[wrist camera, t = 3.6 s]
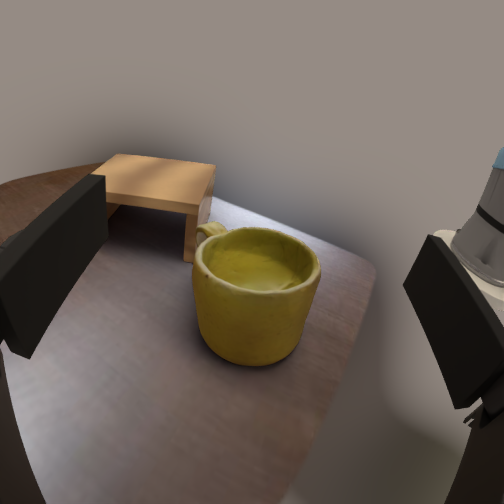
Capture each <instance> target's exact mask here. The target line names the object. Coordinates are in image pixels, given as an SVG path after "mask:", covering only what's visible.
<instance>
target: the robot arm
mask: <svg viewBox="0 0 504 504" xmlns="http://www.w3.org/2000/svg"><path fill="white" fill-rule="evenodd" d="M492 167H493V170H492V172H491V175H490V178H489V180H488V182H487V185H486V187H485V190H484V192H483V195H482V197H481V200H480V201H479V204H478V206H477V208H476V211H475V213H474V214H473V215H472V217H471V218H470V219H469V220H468V221H467V222H466V224H465V225H464V226H463V227H462V229H458V230H457V231H456V233H455V235H454V237H453V239H452V241H451V243H450V247H451V249H450V248H449V247H448V246H447V244H446V243H445V242H444V241H443V239H442V238H441V237H437V236H433V235H428V236H427V238H426V240H425V242H424V244H423V246H422V248H421V250H420V252H419V254H418V256H417V258H416V260H415V262H414V264H413V266H412V268H411V270H410V272H409V274H408V276H407V278H406V280H405V282H404V283H403V287H404V289H405V290H406V293H407V295H408V297H409V299H410V301H411V303H412V305H413V307H414V309H415V312H416V314H417V316H418V318H419V320H420V323H421V325H422V327H423V329H424V332H425V334H426V336H427V338H428V341H429V343H430V345H431V348H432V350H433V353H434V355H435V358H436V360H437V362H438V365H439V367H440V370H441V372H442V375H443V378H444V380H445V383H446V386H447V389H448V391H449V394H450V397H451V399H452V402H453V405H454V408H455V409H462V408H468V407H470V406H471V405H472V404H473V403H474V402H475V401H477V400H478V399H479V398H480V397H481V399H482V402H483V403H482V404H481V405H480V406H479V407H478V408H477V409H476V410H474V411H473V412H472V413H471V414H470V415H469V416H467V417H466V418H465V420H464V422H463V423H466V422H468V421H469V420H470V419H471V418H472V419H474V420H473V421H472V422H471V423H470V424H469V425H468V426H469V427H471V428H472V429H471V432H470V436H469V439H468V442H467V445H466V449H465V452H464V455H463V458H462V460H461V463H460V466H459V469H458V472H457V474H456V477H455V479H454V482H453V484H452V487H451V489H450V492H449V494H448V496H447V498H446V501H445V503H444V504H504V327H503V325H502V324H501V322H500V320H499V319H498V317H497V315H496V314H495V312H494V311H493V309H492V307H491V306H490V304H489V303H488V301H487V300H486V298H485V297H484V295H483V294H482V292H481V291H480V289H479V288H478V286H477V285H476V283H475V282H474V281H473V279H472V278H471V276H470V275H469V274H468V272H467V271H466V269H465V268H464V267H463V265H464V266H465V267H466V268H467V269H468V270H469V271H471V272H472V273H473V274H475V275H476V276H477V277H479V278H480V279H482V280H484V281H485V282H487V283H489V284H491V285H494V286H496V287H501V288H504V147H503V148H501V150H500V151H499V153H498V156H497V158H496V161H495V163H494V164H493V166H492ZM108 237H109V236H108V222H107V204H106V175H97V174H88V175H87V176H85V177H84V178H83V179H81V180H80V181H79V182H78V183H76V184H75V185H74V186H73V187H72V188H70V189H69V190H68V191H67V192H65V193H64V194H63V195H62V196H61V197H59V198H58V199H57V200H56V201H55V202H54V203H52V204H51V205H50V206H49V207H48V208H47V209H46V210H45V211H43V212H42V213H41V214H40V215H39V216H38V217H37V218H36V219H35V220H34V221H32V222H31V223H30V224H29V225H28V226H27V227H26V228H25V229H24V230H21V231H19V232H17V233H15V234H14V235H12V236H10V237H9V238H8V239H7V240H6V241H5V242H4V243H3V244H2V245H1V246H0V344H1V343H2V341H3V339H4V340H5V342H6V344H7V346H8V347H9V349H10V351H11V352H13V353H15V354H17V355H20V356H22V357H25V358H27V359H29V360H30V358H31V356H32V354H33V352H34V351H35V349H36V347H37V345H38V343H39V342H40V340H41V338H42V336H43V335H44V333H45V331H46V330H47V328H48V326H49V325H50V323H51V321H52V320H53V318H54V316H55V315H56V313H57V311H58V310H59V308H60V307H61V305H62V303H63V302H64V300H65V299H66V297H67V296H68V294H69V292H70V291H71V289H72V288H73V286H74V285H75V283H76V282H77V280H78V279H79V277H80V276H81V274H82V273H83V272H84V270H85V269H86V267H87V266H88V264H89V263H90V261H91V260H92V259H93V257H94V256H95V254H96V253H97V252H98V250H99V249H100V248H101V246H102V245H103V243H104V242H105V241H106V239H107V238H108ZM451 250H452V251H451ZM460 262H461V263H462V264H463V265H462V264H461V263H460ZM0 504H46V502H45V500H44V498H43V495H42V493H41V491H40V488H39V486H38V484H37V481H36V479H35V476H34V474H33V471H32V468H31V466H30V463H29V460H28V457H27V454H26V451H25V448H24V445H23V442H22V439H21V436H20V432H19V429H18V425H17V422H16V418H15V414H14V410H13V406H12V402H11V398H10V393H9V388H8V383H7V378H6V373H5V367H4V361H3V354H2V352H1V349H0Z"/></svg>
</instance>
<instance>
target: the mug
mask: <svg viewBox="0 0 504 504" xmlns="http://www.w3.org/2000/svg"><path fill="white" fill-rule="evenodd" d="M195 234H196V243H197V247H198V248H197V250H196V252H195V255H194V261H193V269H192V283H193V290H194V297H195V304H196V311H197V317H198V324H199V329H200V332H201V335H202V337H203V338H204V340H205V341H206V343H207V345H208V346H209V347H210V348H211V349H212V350H213V351H214V352H215V353H216V354H218V355H219V356H220V357H222V358H224V359H225V360H227V361H230V362H232V363H234V364H238V365H245V366H265V365H270V364H273V363H275V362H277V361H279V360H281V359H283V358H285V357H286V356H287V355H289V354H290V353H291V352H292V350H293V349H294V348H295V347H296V345H297V344H298V342H299V340H300V337H301V335H302V331H303V328H304V324H305V320H306V318H307V315H308V313H309V310H310V307H311V304H312V301H313V298H314V295H315V292H316V290H317V287H318V284H319V281H320V277H321V266H320V263H319V260H318V258H317V256H316V255H315V253H314V252H313V251H312V250H311V249H310V248H309V247H308V246H307V245H306V244H305V243H304V242H302V241H300V240H298V239H297V238H294V237H292V236H290V235H287V234H285V233H282V232H280V231H276V230H272V229H268V228H260V227H248V228H247V227H243V228H238V229H232V230H230V231H227V230H226V228H225V227H224V226H223V225H222V224H220V223H219V222H215V221H212V222H209V223H206V224H202V225H199V226H198V227H197V228H196V231H195Z"/></svg>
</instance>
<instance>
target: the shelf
mask: <svg viewBox="0 0 504 504" xmlns="http://www.w3.org/2000/svg"><path fill="white" fill-rule="evenodd" d="M215 172H216V166H215V165H208V164H202V163H194V162H187V161H178V160H171V159H162V158H154V157H145V156H135V155H125V154H117V155H115V156H114V157H112V158H111V159H110V160H108V161H107V162H106V163H104V164H103V165H102V166H100V167H99V168H98V169H97V170H95V171H94V172H93V173H91V174H97V175H106V204H107V220H108V219H109V218H110V217H111V215H112V214H113V213H114V212H115V211H116V209H117V208H118V207H119V206H120V205H121V204H124V205H132V206H139V207H146V208H152V209H159V210H166V211H172V212H179V213H186V214H187V215H186V228H185V243H184V260H183V261H185V262H191V263H193V261H194V255H195V252H196V250H197V248H198V247H197V243H196V234H195V231H196V228H197V227H198V226H199V225H202V224H206V223H207V221H208V218H209V215H210V211H211V203H212V194H213V187H214V178H215Z"/></svg>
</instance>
